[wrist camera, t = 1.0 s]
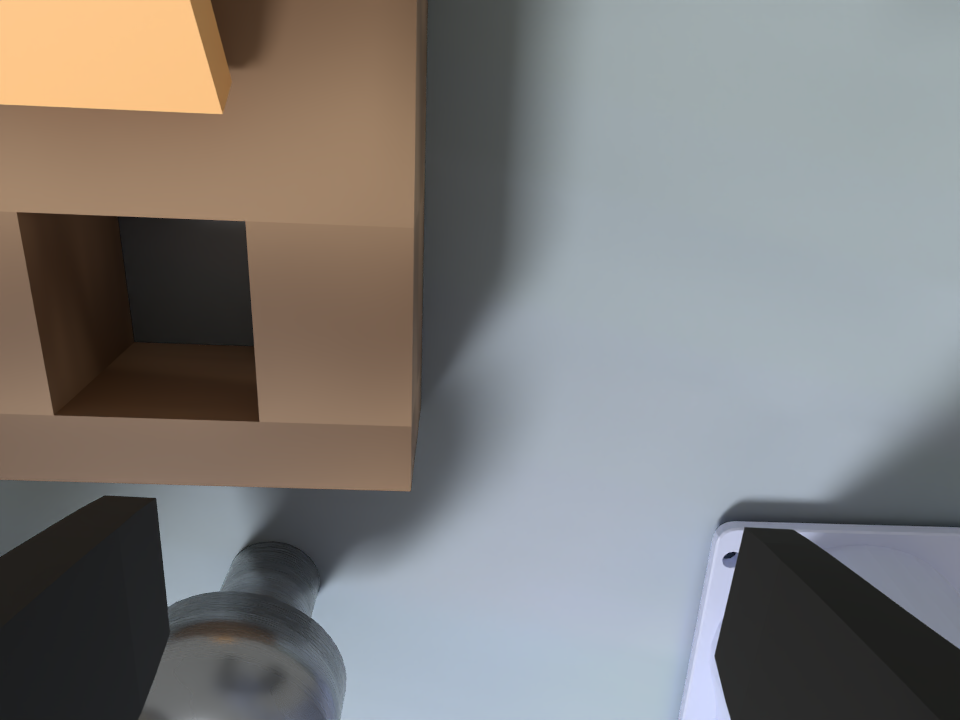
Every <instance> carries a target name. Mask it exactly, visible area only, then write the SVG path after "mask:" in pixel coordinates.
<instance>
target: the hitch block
mask: <svg viewBox="0 0 960 720" xmlns="http://www.w3.org/2000/svg"><path fill="white" fill-rule="evenodd" d="M211 4H212V8H213V12H214V15H215V19H216V23H217V27H218V31H219V34H220V38H221V42H222V46H223V49H224V53H225V57H226V61H227V65H228V68H229V72H230V76H231V80H232V83H231V87H230V90H229V94H228V98H227V101H226V105H225V108H224V112H223V114H205V113H183V112H161V111H138V110H116V109H93V108H71V107H48V106H26V105H3V104H0V480H26V481H61V482H96V483H132V484H167V485H203V486H238V487H273V488H309V489H344V490H379V491H411V485H412V477H413V468H414V460H415V451H416V443H417V435H418V426H419V418H420V410H421V368H422V310H423V252H424V194H425V136H426V78H427V20H428V0H211ZM117 216H127V217H152V218H177V219H202V220H227V221H245V224H246V238H247V252H248V266H249V280H250V294H251V309H252V323H253V337H254V346H230V345H201V344H172V343H143V342H134V336H133V329H132V321H131V314H130V306H129V299H128V291H127V284H126V276H125V269H124V261H123V254H122V246H121V239H120V231H119V224H118V217H117Z"/></svg>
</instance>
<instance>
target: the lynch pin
mask: <svg viewBox="0 0 960 720" xmlns="http://www.w3.org/2000/svg"><path fill="white" fill-rule="evenodd" d="M319 582H320V580H319V574H318V570H317V568H316V566H315V564H314V563H313V561H312V560H311V559H310V558H309V557H308V556H307V555H306V554H305V553H303V552H302V551H301V550H299V549H297V548H295V547H293V546H291V545H288V544H284V543H279V542H263V543H258V544H254V545H252V546H249V547H247V548H246V549H244V550H243V551H241V552H240V553H239V554H238V555H237V556H236V558H235V559H234V560H233V562H232V564H231V567H230V569H229V571H228V573H227V576H226V578H225V580H224V582H223V585H222V587H221V589H220V591H219V592H212V593H204V594H200V595H196V596H192V597H189V598H186V599H184V600H181V601H179V602H176V603H174V604H173V605H171V606H169V607H167V608H168V618H169V627H170V635H169V638H168V641H167V644H166V647H165V649H164V652H163V655H162V658H161V661H160V664H159V667H158V670H157V673H156V675H155V678H154V681H153V683H152V686H151V689H150V691H149V694H148V697H147V699H146V702H145V705H144V707H143V710H142V713H141V715H140V717H139V719H138V720H340V718H341V712H342V707H343V701H344V696H345V691H346V672H345V666H344V663H343V659H342V656H341V654H340V652H339V650H338V648H337V646H336V645H335V643H334V642H333V640H332V639H331V637H330V636H329V635H328V634H327V632H326V631H325V630H324V629H323V628H322V627H321V626H320V625H319V624H318V623H316V622H315V621H314V620H313V619H312V618H311V616H312V612H313V608H314V604H315V601H316V597H317V593H318V589H319Z"/></svg>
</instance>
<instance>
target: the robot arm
mask: <svg viewBox="0 0 960 720" xmlns="http://www.w3.org/2000/svg"><path fill="white" fill-rule="evenodd" d="M729 552H736V554H735V555H734V556H733V557H732V558H728V559H724V558H723V557H724V555H726V554H727V553H729ZM169 635H170V627H169V618H168V608H167V599H166V589H165V579H164V570H163V560H162V550H161V541H160V531H159V522H158V512H157V502H156V498H143V497H123V496H103V497H101V498H99V499H97V500H95V501H93V502H92V503H90V504H88V505H86V506H84V507H82V508H81V509H79V510H77V511H76V512H74V513H72V514H70V515H69V516H67V517H65V518H64V519H62V520H60V521H59V522H57V523H55V524H54V525H52V526H50V527H49V528H47V529H45V530H44V531H42V532H40V533H39V534H37V535H36V536H34V537H32V538H31V539H29V540H27V541H26V542H24V543H23V544H21V545H19V546H18V547H16V548H14V549H13V550H11V551H9V552H8V553H6V554H4V555H3V556H1V557H0V720H138V719H139V717H140V715H141V713H142V710H143V707H144V705H145V702H146V699H147V697H148V694H149V691H150V689H151V686H152V683H153V681H154V678H155V675H156V673H157V670H158V667H159V664H160V661H161V658H162V655H163V652H164V649H165V647H166V644H167V641H168V638H169ZM678 720H960V527H927V526H891V525H854V524H818V523H781V522H744V521H732V522H726V523H724V524H722V525H720V526H719V527H718V528H717V529H716V530H715V532H714V535H713V538H712V544H711V549H710V554H709V559H708V565H707V570H706V575H705V580H704V586H703V591H702V596H701V602H700V607H699V612H698V617H697V623H696V628H695V633H694V638H693V644H692V649H691V654H690V660H689V665H688V670H687V675H686V681H685V686H684V691H683V697H682V702H681V707H680V712H679V718H678Z"/></svg>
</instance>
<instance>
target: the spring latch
mask: <svg viewBox="0 0 960 720" xmlns="http://www.w3.org/2000/svg"><path fill="white" fill-rule="evenodd" d="M231 83H232V80H231V76H230V72H229V68H228V65H227V61H226V57H225V53H224V49H223V46H222V42H221V38H220V34H219V31H218V27H217V23H216V19H215V15H214V12H213V8H212V4H211V0H0V104H3V105H26V106H48V107H71V108H93V109H116V110H138V111H161V112H183V113H205V114H223V112H224V108H225V105H226V101H227V98H228V94H229V90H230V87H231Z"/></svg>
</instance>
